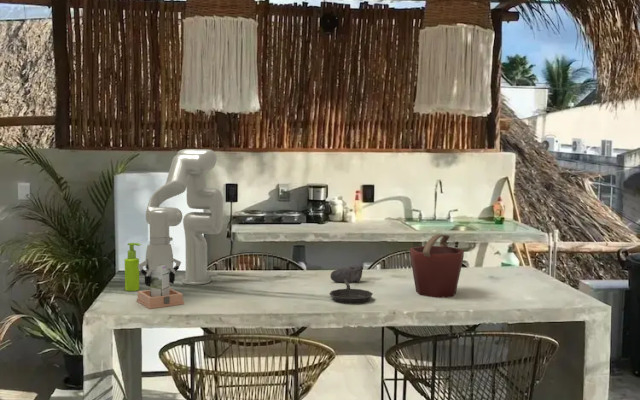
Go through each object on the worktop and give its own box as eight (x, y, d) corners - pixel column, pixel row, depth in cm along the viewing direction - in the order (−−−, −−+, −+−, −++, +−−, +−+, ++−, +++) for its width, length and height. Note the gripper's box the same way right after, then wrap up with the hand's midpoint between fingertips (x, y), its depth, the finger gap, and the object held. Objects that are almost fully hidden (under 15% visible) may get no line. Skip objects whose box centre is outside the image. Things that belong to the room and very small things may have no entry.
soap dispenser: (137, 291, 290) (137, 244, 288) (122, 290, 291) (121, 243, 289) (144, 288, 296) (143, 242, 294) (129, 287, 297) (128, 241, 295)
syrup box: (170, 299, 273) (169, 262, 272) (162, 302, 267) (161, 265, 266) (157, 297, 275) (157, 261, 273) (149, 301, 269) (149, 264, 268)
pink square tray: (170, 297, 281) (170, 287, 280) (184, 304, 269) (184, 294, 269) (136, 301, 273) (136, 291, 272) (149, 308, 261) (149, 298, 261)
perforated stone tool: (330, 283, 310) (331, 268, 310) (329, 281, 315) (329, 266, 315) (363, 283, 312) (364, 268, 311) (362, 281, 317) (362, 266, 316)
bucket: (433, 284, 310) (434, 229, 308) (475, 293, 294) (477, 235, 292) (398, 293, 293) (400, 234, 291) (441, 302, 277) (443, 240, 275)
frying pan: (331, 305, 271) (331, 296, 271) (324, 287, 303) (324, 279, 302) (376, 305, 272) (376, 295, 272) (364, 287, 304) (364, 278, 304)
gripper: (176, 238, 277) (176, 280, 278) (134, 241, 267) (135, 285, 269) (184, 240, 271) (184, 283, 272) (141, 244, 261) (141, 288, 262)
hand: (159, 284), depth 270 cm, fingers open, 9 cm apart
